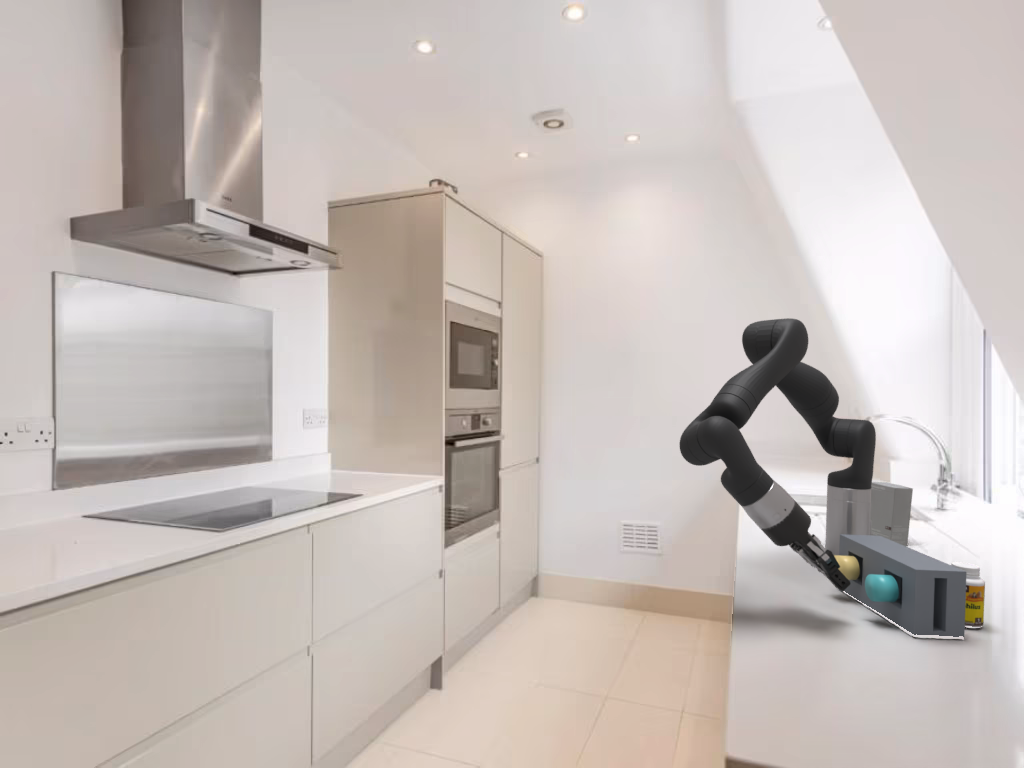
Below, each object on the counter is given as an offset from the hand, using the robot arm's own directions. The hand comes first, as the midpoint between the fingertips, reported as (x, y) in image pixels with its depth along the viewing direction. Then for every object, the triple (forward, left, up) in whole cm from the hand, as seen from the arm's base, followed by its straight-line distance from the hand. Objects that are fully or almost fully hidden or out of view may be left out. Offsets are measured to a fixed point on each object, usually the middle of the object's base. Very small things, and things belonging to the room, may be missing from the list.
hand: (844, 586), depth 106 cm
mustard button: (-11, -7, -2) cm, 14 cm away
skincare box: (-67, -31, -6) cm, 74 cm away
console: (-13, +1, -6) cm, 15 cm away
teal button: (-5, +3, -2) cm, 7 cm away
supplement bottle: (-19, +9, -6) cm, 22 cm away
